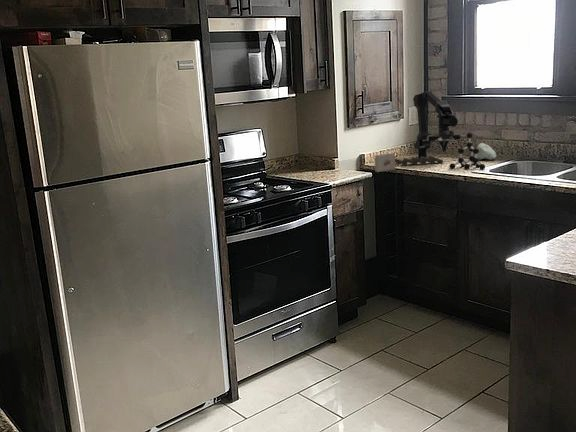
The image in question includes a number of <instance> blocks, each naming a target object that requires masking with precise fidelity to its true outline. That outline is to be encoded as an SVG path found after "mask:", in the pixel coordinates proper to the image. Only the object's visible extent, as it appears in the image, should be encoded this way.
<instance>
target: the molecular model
mask: <svg viewBox="0 0 576 432" xmlns="http://www.w3.org/2000/svg"><path fill="white" fill-rule="evenodd" d="M473 137H474V134H473V133H472V132H467V134H466V138H467V139H468V142H467V143H466V146H465V147H459V148H458V150H457V152H458V154H459V158H458V159H457V161H456V162H455V163H453V162H451V163H450V164H449V168H450V169H452V170H453V169H455V168H456V166H457V165H459V164H460V167H464V169H465V170H470V168H471V166H472V165H473V166H475V167H476V168H479V170H485V168H486V165H485V164H484V163H481V161H479V159H478V158H477V153H478V152H479V150H478V149H477V147H475V146H473V142H472V141H471V139H472V138H473ZM466 149H468V150H469V151H470V155H469V158H468V159H467V160H464V159H465V158H463V154H464V153H465V150H466ZM469 162H470V163H469Z"/></svg>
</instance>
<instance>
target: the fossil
mask: <svg viewBox="0 0 576 432" xmlns="http://www.w3.org/2000/svg"><path fill="white" fill-rule="evenodd" d="M395 158H396V156H395V153H394V152H390V153H383V154H375V157H374V172H375V173H380V172H388V171H395V170H396V166H395Z"/></svg>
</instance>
